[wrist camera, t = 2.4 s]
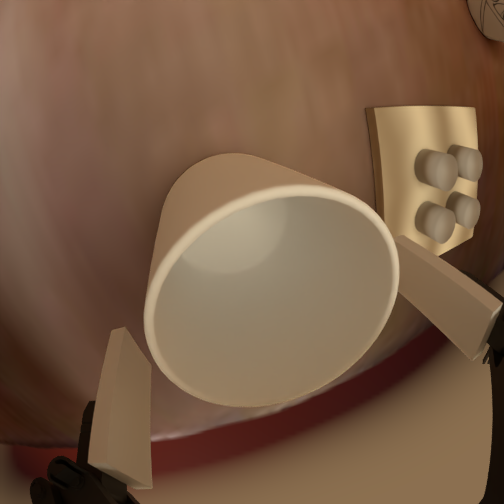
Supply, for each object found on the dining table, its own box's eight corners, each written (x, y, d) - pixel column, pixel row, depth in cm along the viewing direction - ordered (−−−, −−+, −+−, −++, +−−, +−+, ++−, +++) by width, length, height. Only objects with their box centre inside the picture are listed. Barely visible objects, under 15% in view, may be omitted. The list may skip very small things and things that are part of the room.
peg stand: (376, 277, 22) (400, 298, 19) (365, 108, 16) (399, 108, 13) (466, 233, 24) (488, 245, 21) (467, 106, 17) (494, 110, 14)
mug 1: (298, 303, 21) (366, 406, 12) (193, 330, 20) (214, 455, 11) (286, 142, 16) (411, 169, 7) (147, 167, 14) (95, 229, 5)
